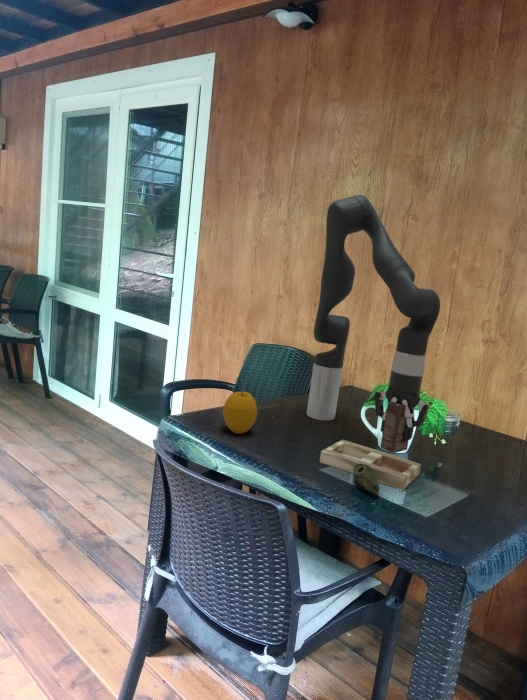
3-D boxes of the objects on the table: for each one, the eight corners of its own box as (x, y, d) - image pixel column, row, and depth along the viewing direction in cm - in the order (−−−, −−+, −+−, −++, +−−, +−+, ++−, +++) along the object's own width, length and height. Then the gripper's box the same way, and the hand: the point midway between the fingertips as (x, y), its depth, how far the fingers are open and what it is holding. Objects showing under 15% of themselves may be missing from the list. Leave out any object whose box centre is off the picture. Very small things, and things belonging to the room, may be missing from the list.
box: (392, 443, 145) (401, 398, 143) (407, 450, 142) (416, 404, 140) (378, 447, 141) (387, 401, 139) (392, 454, 138) (402, 406, 136)
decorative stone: (337, 480, 136) (340, 461, 135) (357, 475, 141) (360, 456, 140) (373, 499, 128) (377, 479, 127) (394, 493, 133) (397, 473, 132)
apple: (231, 423, 168) (236, 384, 165) (260, 431, 164) (265, 392, 161) (214, 431, 159) (219, 390, 157) (244, 440, 155) (250, 398, 153)
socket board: (340, 449, 157) (342, 439, 156) (419, 475, 146) (421, 464, 145) (319, 462, 146) (321, 451, 145) (402, 490, 135) (404, 478, 134)
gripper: (373, 366, 138) (362, 432, 142) (432, 379, 131) (419, 449, 134) (384, 362, 145) (374, 426, 148) (441, 375, 137) (428, 442, 141)
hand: (395, 437), depth 141 cm, fingers closed on box, 5 cm apart
